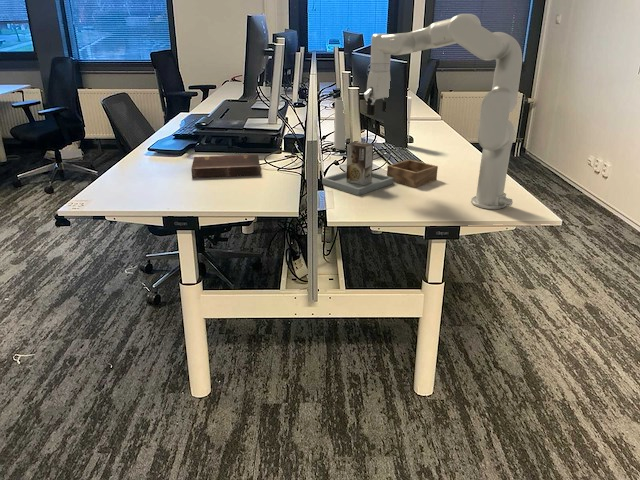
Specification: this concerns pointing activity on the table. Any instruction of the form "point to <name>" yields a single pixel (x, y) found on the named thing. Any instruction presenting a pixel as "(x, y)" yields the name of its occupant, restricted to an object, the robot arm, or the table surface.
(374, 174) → the slate tray
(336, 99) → the cylinder vase
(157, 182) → the table surface
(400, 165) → the walnut sleeve
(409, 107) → the cylindrical container
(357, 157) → the coffee box
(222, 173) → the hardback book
